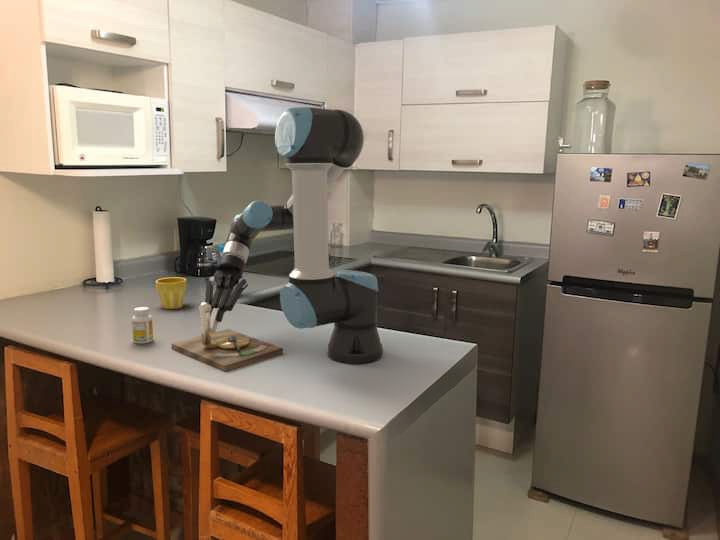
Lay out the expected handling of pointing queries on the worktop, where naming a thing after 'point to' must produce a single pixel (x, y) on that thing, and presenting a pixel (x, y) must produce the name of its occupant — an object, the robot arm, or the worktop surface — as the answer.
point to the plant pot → (171, 291)
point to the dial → (221, 343)
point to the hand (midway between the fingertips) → (210, 331)
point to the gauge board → (227, 351)
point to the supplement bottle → (142, 325)
